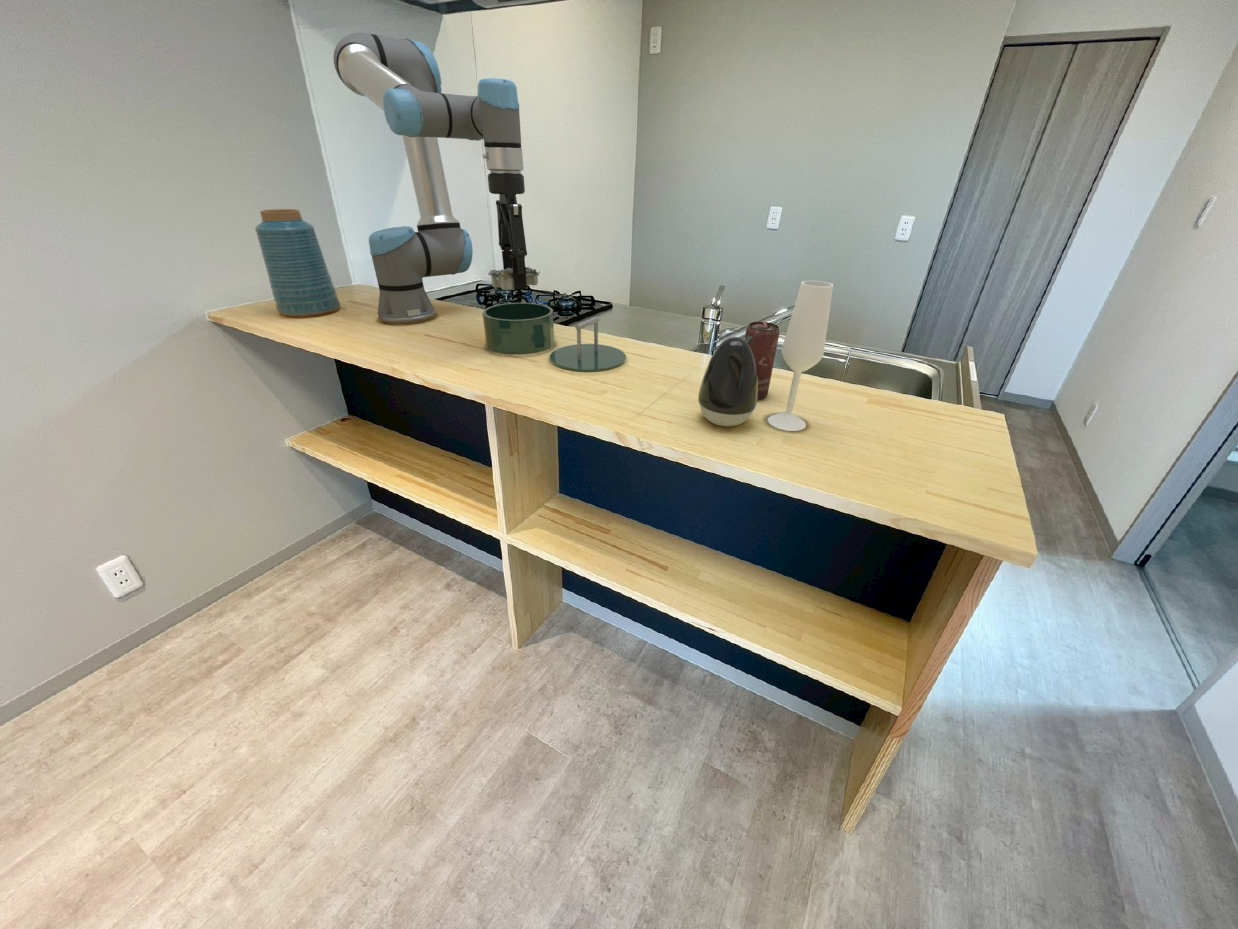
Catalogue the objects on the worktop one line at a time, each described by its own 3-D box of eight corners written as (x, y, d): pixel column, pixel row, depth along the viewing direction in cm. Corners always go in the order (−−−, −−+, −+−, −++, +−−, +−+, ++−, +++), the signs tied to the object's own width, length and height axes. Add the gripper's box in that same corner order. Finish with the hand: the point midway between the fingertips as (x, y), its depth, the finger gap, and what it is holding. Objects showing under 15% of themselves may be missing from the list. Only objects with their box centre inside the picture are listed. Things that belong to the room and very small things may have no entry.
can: (764, 388, 102) (777, 320, 94) (769, 401, 96) (783, 330, 89) (734, 386, 102) (745, 319, 95) (738, 399, 97) (749, 328, 90)
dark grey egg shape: (764, 419, 89) (780, 337, 81) (733, 439, 83) (747, 351, 75) (716, 403, 95) (727, 324, 87) (684, 420, 89) (692, 337, 81)
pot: (472, 348, 120) (467, 313, 115) (517, 332, 132) (514, 299, 128) (525, 361, 113) (522, 324, 108) (567, 342, 125) (566, 308, 121)
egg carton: (505, 291, 109) (503, 272, 107) (486, 285, 114) (484, 267, 112) (543, 284, 116) (542, 266, 114) (524, 279, 120) (522, 261, 118)
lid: (534, 364, 111) (531, 323, 106) (578, 344, 124) (577, 306, 119) (600, 380, 104) (600, 337, 99) (639, 357, 117) (640, 317, 112)
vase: (332, 317, 140) (302, 213, 126) (269, 319, 137) (231, 213, 123) (347, 303, 154) (322, 208, 140) (290, 305, 151) (259, 207, 137)
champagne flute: (764, 413, 92) (789, 278, 79) (800, 414, 91) (831, 279, 79) (772, 430, 86) (801, 287, 73) (811, 431, 86) (846, 289, 73)
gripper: (477, 171, 110) (490, 276, 122) (498, 173, 93) (510, 295, 105) (511, 171, 113) (519, 274, 124) (536, 173, 96) (544, 292, 107)
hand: (515, 284), depth 115 cm, fingers closed on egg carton, 9 cm apart
